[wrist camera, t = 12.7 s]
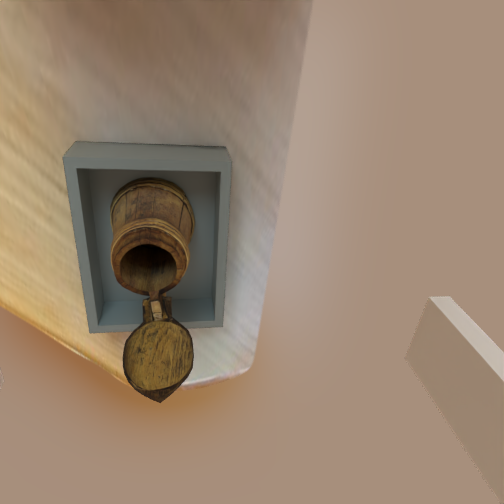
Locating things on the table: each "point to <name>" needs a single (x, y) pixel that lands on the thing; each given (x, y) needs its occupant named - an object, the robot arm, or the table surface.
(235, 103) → the table surface
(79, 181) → the bin
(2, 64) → the table surface
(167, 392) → the wooden mug
